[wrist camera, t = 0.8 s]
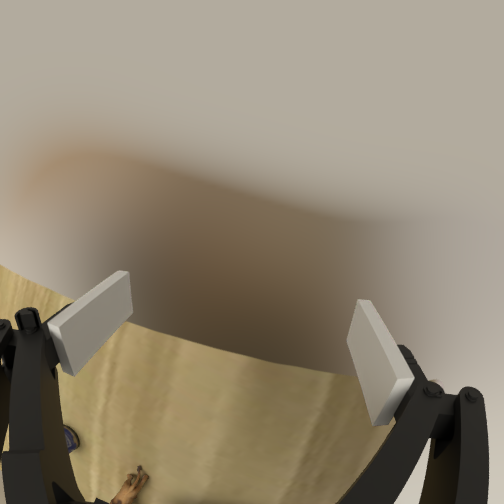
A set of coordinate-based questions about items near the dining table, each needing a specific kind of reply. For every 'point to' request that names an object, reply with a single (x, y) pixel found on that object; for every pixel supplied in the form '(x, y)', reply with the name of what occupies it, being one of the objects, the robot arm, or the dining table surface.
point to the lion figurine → (129, 490)
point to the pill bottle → (71, 439)
